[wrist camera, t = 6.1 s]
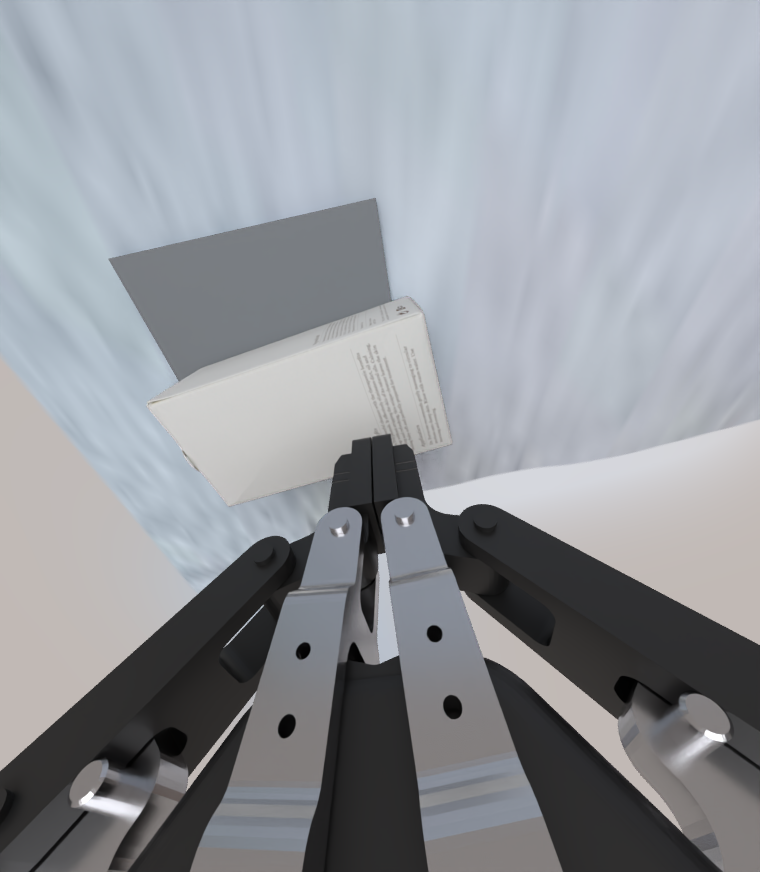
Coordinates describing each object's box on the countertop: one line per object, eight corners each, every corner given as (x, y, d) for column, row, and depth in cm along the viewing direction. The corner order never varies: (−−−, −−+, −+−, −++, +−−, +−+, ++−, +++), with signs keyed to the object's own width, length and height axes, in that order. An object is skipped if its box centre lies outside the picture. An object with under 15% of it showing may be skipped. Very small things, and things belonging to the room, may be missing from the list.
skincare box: (412, 292, 19) (197, 360, 21) (428, 310, 14) (134, 400, 16) (436, 405, 24) (255, 453, 26) (456, 454, 18) (222, 511, 20)
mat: (375, 199, 17) (375, 198, 17) (413, 452, 27) (414, 456, 26) (115, 258, 18) (108, 258, 18) (241, 481, 28) (239, 485, 27)
